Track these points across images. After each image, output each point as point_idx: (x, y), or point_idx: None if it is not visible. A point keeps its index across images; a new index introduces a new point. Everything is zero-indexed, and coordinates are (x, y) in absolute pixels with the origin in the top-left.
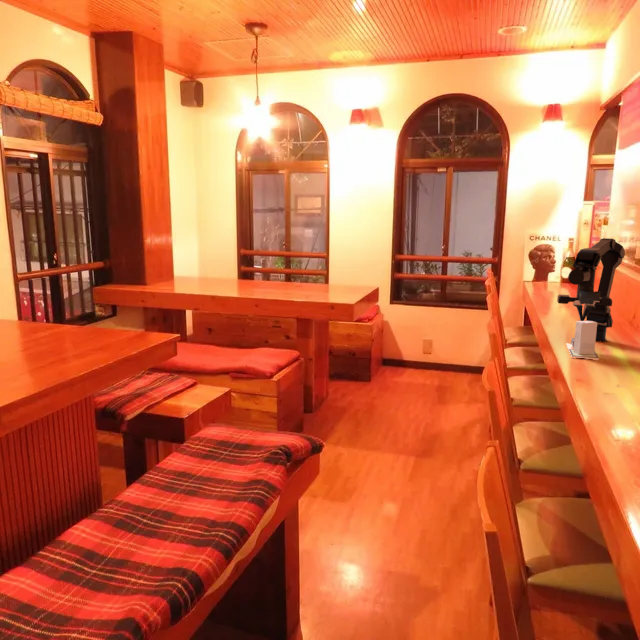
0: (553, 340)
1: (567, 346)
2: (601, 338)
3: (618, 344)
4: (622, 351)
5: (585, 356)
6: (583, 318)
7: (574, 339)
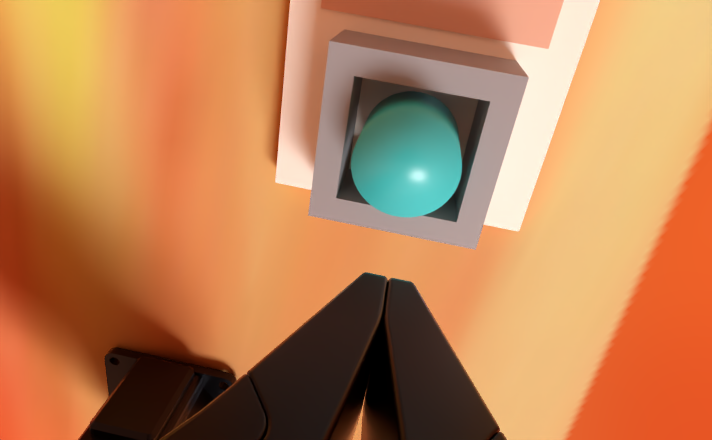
0: (560, 380)
1: (569, 85)
2: (142, 370)
3: (35, 291)
4: (3, 40)
5: None
6: (358, 317)
7: (476, 163)
